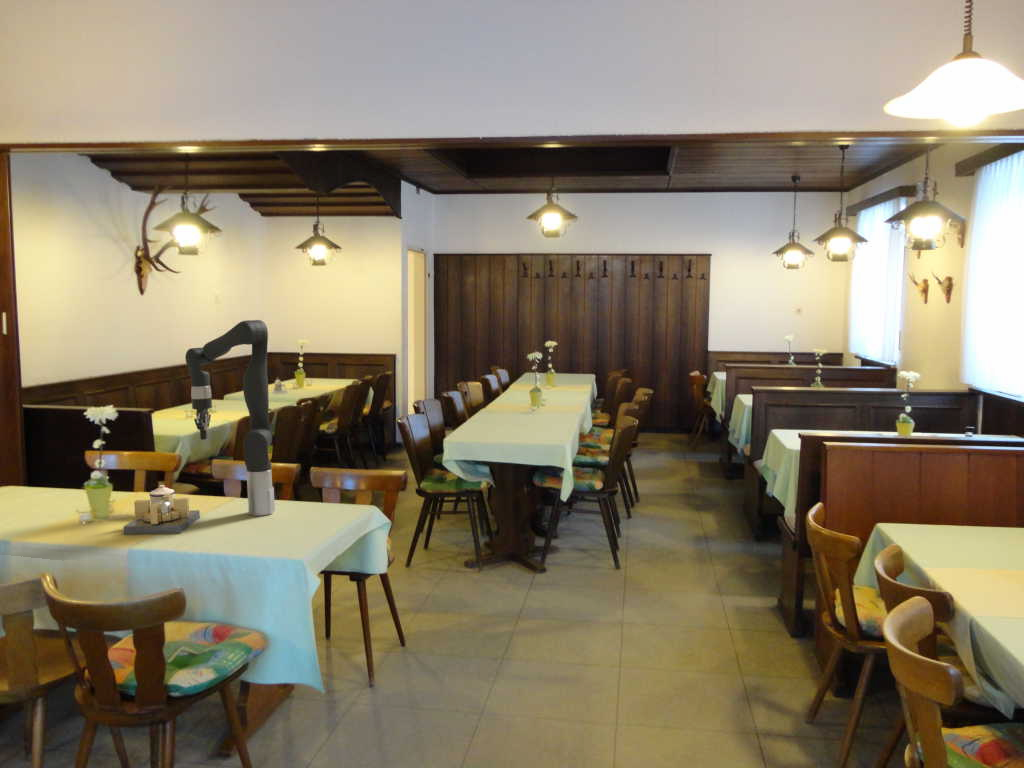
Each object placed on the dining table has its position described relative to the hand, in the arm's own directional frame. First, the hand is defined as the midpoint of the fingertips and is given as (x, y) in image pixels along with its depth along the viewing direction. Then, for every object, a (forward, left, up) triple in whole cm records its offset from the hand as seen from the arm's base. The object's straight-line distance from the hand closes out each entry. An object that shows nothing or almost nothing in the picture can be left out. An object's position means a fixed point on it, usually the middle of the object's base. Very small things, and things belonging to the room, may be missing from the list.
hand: (203, 439), depth 324 cm
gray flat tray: (+6, +31, -27) cm, 42 cm away
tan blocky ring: (+6, +31, -24) cm, 39 cm away
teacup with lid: (+12, +13, -27) cm, 32 cm away
